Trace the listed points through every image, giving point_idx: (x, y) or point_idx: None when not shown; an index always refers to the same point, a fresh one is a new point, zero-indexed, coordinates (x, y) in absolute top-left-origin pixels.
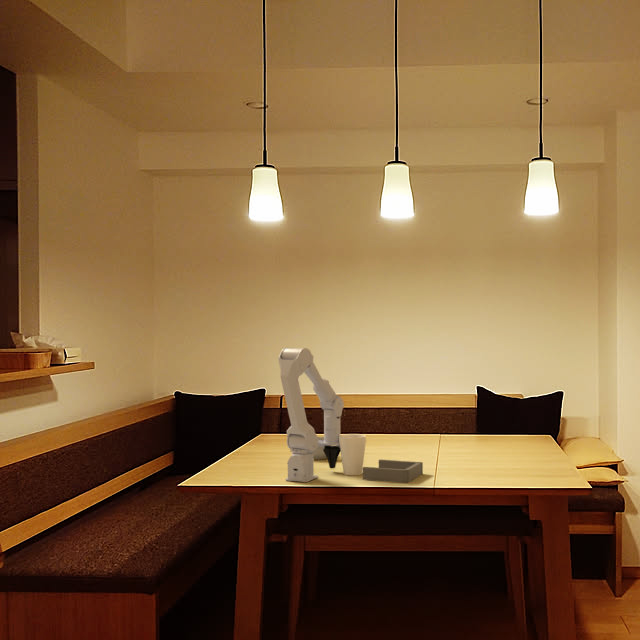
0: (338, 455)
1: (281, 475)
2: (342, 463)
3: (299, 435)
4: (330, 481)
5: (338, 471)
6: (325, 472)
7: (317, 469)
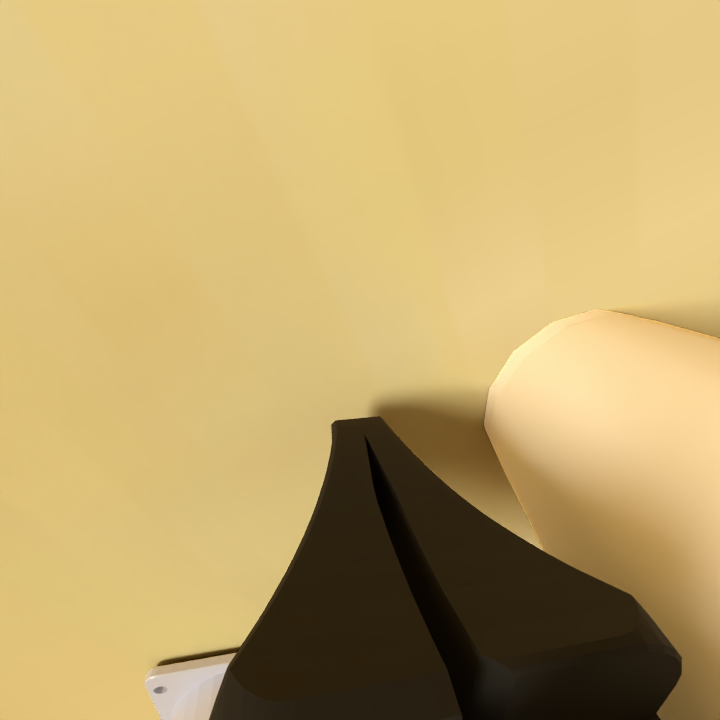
0: (488, 519)
1: (10, 703)
2: (539, 541)
3: None
4: None
5: (398, 358)
6: (287, 462)
7: (76, 356)
